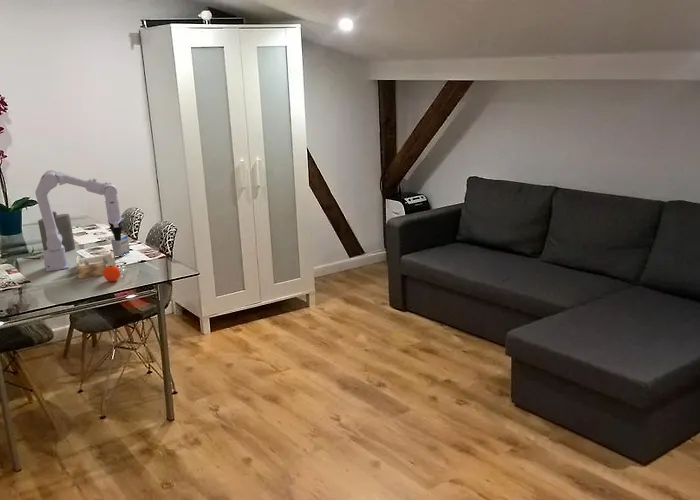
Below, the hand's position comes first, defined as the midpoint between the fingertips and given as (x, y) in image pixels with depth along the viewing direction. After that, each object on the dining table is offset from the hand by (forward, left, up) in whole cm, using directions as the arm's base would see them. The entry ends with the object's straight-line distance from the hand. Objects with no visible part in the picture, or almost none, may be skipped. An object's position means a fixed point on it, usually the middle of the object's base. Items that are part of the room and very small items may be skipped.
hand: (117, 238), depth 324 cm
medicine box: (+1, +6, -10) cm, 12 cm away
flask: (-27, +26, -10) cm, 39 cm away
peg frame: (-11, -6, -10) cm, 16 cm away
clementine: (-5, -29, -10) cm, 31 cm away
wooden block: (-13, -17, -10) cm, 24 cm away
